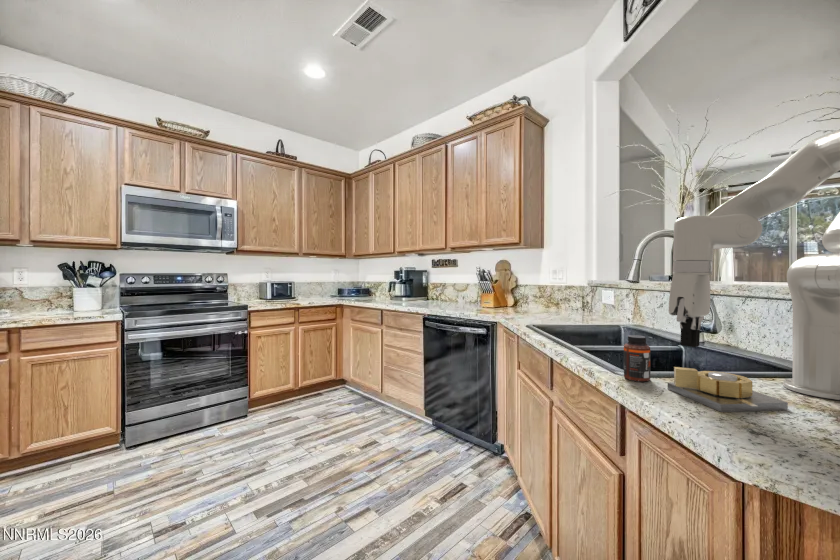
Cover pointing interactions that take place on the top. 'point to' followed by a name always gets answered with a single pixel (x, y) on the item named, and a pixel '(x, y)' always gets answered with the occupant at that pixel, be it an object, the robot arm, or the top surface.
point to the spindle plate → (730, 398)
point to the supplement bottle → (637, 359)
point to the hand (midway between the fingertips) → (689, 345)
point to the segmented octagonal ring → (712, 383)
